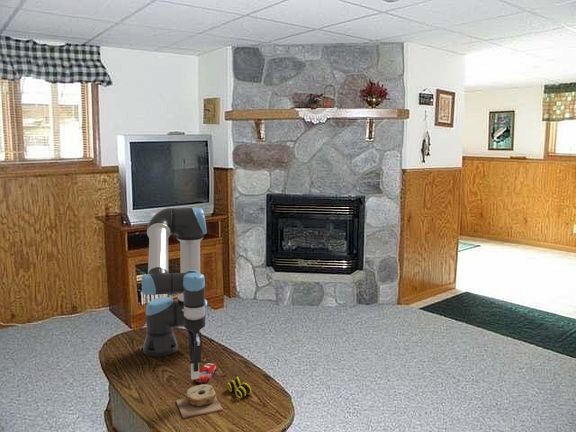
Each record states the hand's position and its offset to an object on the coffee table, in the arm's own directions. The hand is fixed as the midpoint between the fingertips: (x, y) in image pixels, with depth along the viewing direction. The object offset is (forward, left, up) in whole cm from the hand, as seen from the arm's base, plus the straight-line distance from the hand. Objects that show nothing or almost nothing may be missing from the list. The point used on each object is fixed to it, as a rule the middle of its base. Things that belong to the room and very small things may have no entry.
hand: (195, 378), depth 179 cm
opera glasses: (+2, +16, -9) cm, 18 cm away
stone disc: (-2, 0, -6) cm, 6 cm away
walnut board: (+5, 0, -8) cm, 10 cm away
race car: (-16, +8, -9) cm, 19 cm away
